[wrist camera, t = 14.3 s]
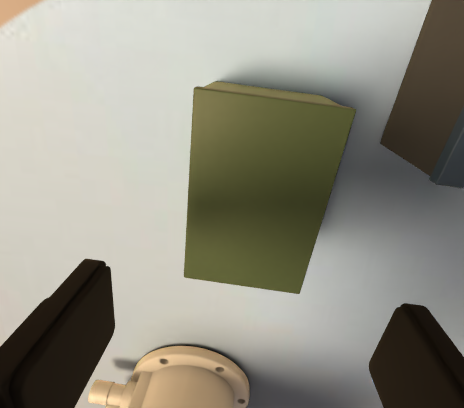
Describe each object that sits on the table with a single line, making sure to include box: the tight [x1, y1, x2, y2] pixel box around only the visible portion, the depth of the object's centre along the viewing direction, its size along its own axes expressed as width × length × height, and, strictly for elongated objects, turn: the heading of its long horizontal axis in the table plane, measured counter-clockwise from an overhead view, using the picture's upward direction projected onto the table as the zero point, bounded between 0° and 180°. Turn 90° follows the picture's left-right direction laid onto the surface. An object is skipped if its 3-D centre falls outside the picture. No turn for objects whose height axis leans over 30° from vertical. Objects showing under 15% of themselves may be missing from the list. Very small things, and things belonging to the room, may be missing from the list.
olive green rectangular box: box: [184, 81, 356, 294], centre depth 16 cm, size 10×7×6 cm, turn 173°
